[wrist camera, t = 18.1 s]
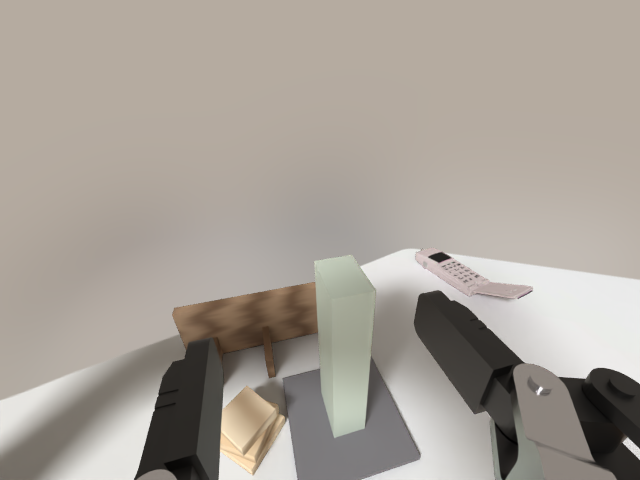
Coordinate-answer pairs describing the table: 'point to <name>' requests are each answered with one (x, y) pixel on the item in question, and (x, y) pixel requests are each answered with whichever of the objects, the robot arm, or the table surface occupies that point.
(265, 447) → the offcut stack
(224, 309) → the walnut rack
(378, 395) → the charcoal mat
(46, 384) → the table surface
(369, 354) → the sage green pillar
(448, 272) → the mobile phone
